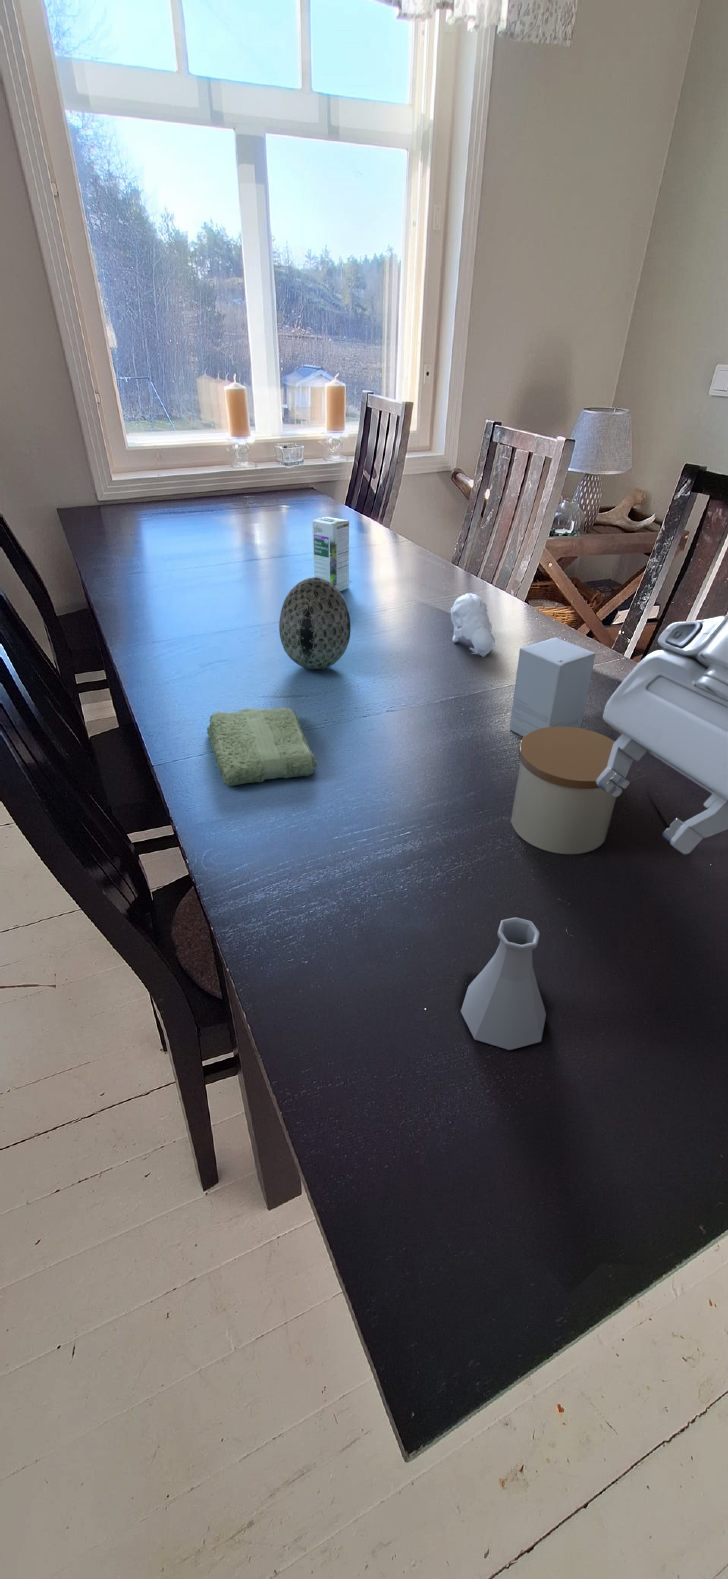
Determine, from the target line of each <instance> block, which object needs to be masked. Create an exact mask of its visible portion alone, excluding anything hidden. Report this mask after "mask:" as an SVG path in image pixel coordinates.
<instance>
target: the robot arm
mask: <svg viewBox="0 0 728 1579" xmlns="http://www.w3.org/2000/svg"><path fill="white" fill-rule="evenodd" d="M657 644H658V645H659V646H660V647H661V648H662V649H657V650H654V651H651V652H650V653H649V654H647V655H646V656H644V657H643V658H642V659H641V660H639V662H638V663H637V664H636V665H635V667H634V668H633V669H631V671H630V672H629V673H628V674H627V676H626V677H625V678H624V679H623V680H622V682H621V683H620V684H619V685H618V687H617V688H616V689H615V691H614V692H613V693H612V695H610V697H609V698H608V700H607V702H606V703H605V705H604V708H603V712H602V713H603V714H602V720H603V721H604V722H605V723H606V725H608V726H609V727H611V729H613V730H614V731H615V732H616V733H618V734H619V736H618V737H617V739H616V740H614V741H615V743H614V744H613V747H612V750H611V753H610V757H609V760H608V764H607V765H608V766H607V767H606V769H605V770H604V771H603V772H602V773H601V775H600V776H599V777H598V778H597V780H596V784H597V785H598V786H599V787H600V788H602V789H603V790H604V791H606V792H607V793H608V794H610V795H611V796H613V797H617V798H618V797H619V796H620V795H621V794H622V792H623V790H626V788H627V787H628V786H629V785H630V784H631V782H630V781H628V780H627V779H626V778H627V776H628V774H629V771H630V768H631V767H632V764H633V762H634V761H635V762H639V761H640V760H641V759H642V758H643V757H644V755H645V754H646V753H648V754H650V755H651V756H653V757H655V758H656V759H657V760H659V761H661V762H663V764H665V765H666V766H668V767H670V768H671V769H673V770H675V771H676V772H678V773H679V774H680V775H681V776H684V777H685V778H687V779H688V780H690V781H692V782H693V783H694V784H696V785H698V786H699V787H701V788H702V789H704V790H706V791H707V793H710V795H709V797H708V798H707V799H706V800H705V801H704V802H703V806H704V808H706V809H705V810H703V811H702V812H700V813H698V814H696V815H694V816H692V817H690V818H689V819H686V820H685V821H682V820H681V819H679V818H678V817H675V819H674V820H672V821H671V823H670V825H669V827H667V828H665V830H664V831H663V832H662V839H664V840H665V841H666V842H667V843H668V844H669V845H670V846H672V847H673V848H674V849H675V850H677V851H678V852H680V853H681V854H683V855H688V854H690V853H691V852H692V851H693V850H694V849H695V848H696V847H697V845H699V844H700V842H701V841H702V840H703V839H707V838H709V837H712V836H714V835H717V834H719V833H722V832H725V831H727V830H728V615H719V616H714V617H710V618H704V619H696V620H695V619H694V620H686V621H685V620H684V621H683V620H682V621H675V622H672V623H670V624H669V625H668V626H666V628H664V630H663V631H662V632H661V634H660V635H659V636H658V638H657Z"/></svg>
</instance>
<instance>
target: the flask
mask: <svg viewBox="0 0 728 1579" xmlns="http://www.w3.org/2000/svg"><path fill="white" fill-rule="evenodd" d="M497 937H498V939H499V944H498V946H497V949H496V950H495V953H494V954H493V956H492V957H491V958H490V960H489V961H488V963H486V965H485V966H484V967H483V969H482V970H481V971H480V972H479V973H478V975H477V976H476V977H475V978H473V980H472V981H471V982H470V983H469V985H468V987H467V989H466V993H465V996H464V999H463V1003H462V1007H461V1009H460V1014H461V1015H462V1017H463V1019H464V1022H465V1023H466V1025H467V1028H468V1029H469V1031H470V1033H471V1035H472V1037H473V1039H474V1040H475V1041H479V1042H481V1043H485V1044H488V1045H491V1046H496V1047H497V1048H502V1049H505V1050H507V1051H511V1050H515V1049H518V1048H522V1047H526V1046H530V1045H534V1044H538V1043H540V1042H542V1038H543V1035H544V1034H543V1033H544V1028H545V1022H546V1018H547V1017H546V1016H547V1012H546V1008H545V1005H544V1002H543V999H542V996H541V992H540V989H539V986H538V982H537V978H536V974H535V970H534V966H533V965H534V964H533V962H534V961H533V950H534V949H536V948H537V947H538V944H539V943H538V942H539V939H540V938H539V937H540V931H539V929H538V928H537V927H536V925H535V924H534V922H533V921H531V920H527V919H524V918H520V917H511V918H506V919H501V920H500V923H499V926H498V930H497Z"/></svg>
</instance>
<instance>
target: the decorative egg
mask: <svg viewBox="0 0 728 1579" xmlns="http://www.w3.org/2000/svg"><path fill="white" fill-rule="evenodd" d="M351 625H352V624H351V615H350V612H349V607H348V604H347V602H346V600H345V598H344V596H343V594H342V593H341V591H340V592H339V590H338V589H337V588H336V587H335V586H334V585H333V584H332V583H330V582H329V581H327V580H324V579H322V578H316V577H314V576H312V577H308V578H305V579H303V580H301V581H299V582H298V583H296V584H295V585H294V586H293V587H292V588H291V589H290V591H289V592H288V593H287V594H286V597H285V599H284V601H283V603H282V606H281V610H280V615H279V622H278V629H279V630H278V631H279V638H280V642H281V646H282V648H283V650H284V652H285V653H286V655H287V656H288V658H289V659H291V661H293V662H294V663H295V664H296V665H297V666H299V667H302V668H304V669H308V670H312V671H313V670H315V671H316V670H323V669H326V668H329V667H331V666H333V665H335V663H337V662H338V661H339V660H340V659H341V658H342V656H343V655H344V654H345V652H346V651H347V648H348V646H349V643H350V638H351V632H352V629H351V628H352V627H351Z"/></svg>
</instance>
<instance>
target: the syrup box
mask: <svg viewBox="0 0 728 1579" xmlns="http://www.w3.org/2000/svg"><path fill="white" fill-rule="evenodd" d="M312 550H313V552H312V555H313V556H312V557H313V577H316V578H322V579H324V580H327V581H329V582H330V583H332V584H333V585H334V586H335V587H336V588H337V589H338V590H339V592H340V593H341V592H342V591H345V590H347V589H349V587H350V581H349V580H350V519H342V518H337V517H331V516H322V517H319V518H316V519H314V520H312Z"/></svg>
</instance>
